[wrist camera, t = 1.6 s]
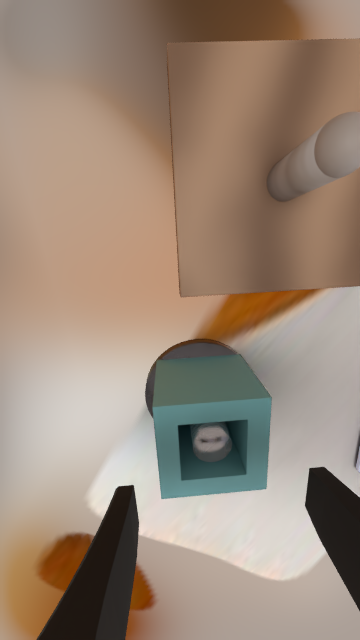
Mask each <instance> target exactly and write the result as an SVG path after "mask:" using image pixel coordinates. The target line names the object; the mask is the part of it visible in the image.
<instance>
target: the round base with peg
mask: <svg viewBox="0 0 360 640" xmlns="http://www.w3.org/2000/svg"><path fill="white" fill-rule="evenodd" d="M224 355H238V354H237V353H236V352H235V351H234V350H233V349H231V348H230V347H228V346H227V345H225V344H223V343H220V342H217V341H213V340H207V339H194V340H188V341H184V342H181V343H179V344H176V345H174V346H172V347H170V348H169V349H168V350H166V351H165V352H164V353H163V354H161V355H160V356H159V357H158V359H157V360H169V359H183V358H196V357H210V356H224ZM157 360H156V361H155V363H154V364H153V366H152V367H151V369H150V372H149V374H148V378H147V383H146V391H145V397H146V404H147V407H148V410H149V412H150V414H151V416H152V417H153V408H152V407H153V396H154V385H155V374H156V363H157ZM153 419H154V418H153ZM190 430H191V438H192V445H193V451H194V454H195V455H196V456H197V457H198V458H199V459H200V460H202V461H205V462H216V461H219V460H222V459H223V458H225V457H226V456H227V455H228V454H229V452H230V451H231V447H232V442H231V439H230V436H229V433H228V430H227V427H226V424H225V421H222V422H210V423H199V424H190Z"/></svg>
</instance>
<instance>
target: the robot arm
mask: <svg viewBox="0 0 360 640" xmlns="http://www.w3.org/2000/svg"><path fill="white" fill-rule="evenodd" d="M356 469H357V471H358V472H359V473H360V448H359V453H358V459H357V464H356ZM305 507H306V509H307V511H308V514H309V516H310V518H311V521H312V523H313V525H314V527H315V530H316V532H317V534H318V536H319V538H320V540H321V542H322V544H323V546H324V547H325V549H326V551H327V553H328V555H329V557H330V558H331V560H332V562H333V564H334V566H335V567H336V569H337V571H338V573H339V574H340V576H341V578H342V580H343V582H344V584H345V585H346V587H347V589H348V591H349V593H350V594H351V596H352V598H353V600H354V602H355V603H356V605H357V607H358V609H359V611H360V498H359V497H358V496H357V495H356V494H355V493H354V492H352V491H351V490H350V489H349V488H348V487H347V486H346V485H344V484H343V483H342V482H341V481H340V480H339V479H337V478H336V477H335V476H334V475H333V474H332V473H331V472H329V471H328V470H327V469H326V468H325V467H318V468H310V469H309V477H308V485H307V494H306V502H305ZM138 530H139V519H138V512H137V505H136V498H135V491H134V485H129V486H119V487H118V488H116V490H115V493H114V495H113V498H112V500H111V502H110V505H109V507H108V509H107V512H106V514H105V516H104V518H103V520H102V522H101V525H100V527H99V529H98V531H97V533H96V535H95V537H94V539H93V541H92V543H91V545H90V547H89V549H88V551H87V553H86V555H85V557H84V559H83V560H82V562H81V564H80V566H79V568H78V570H77V571H76V573H75V575H74V577H73V579H72V580H71V582H70V584H69V586H68V588H67V590H66V591H65V593H64V595H63V597H62V598H61V600H60V602H59V604H58V605H57V607H56V609H55V610H54V612H53V614H52V615H51V617H50V619H49V620H48V622H47V624H46V625H45V627H44V628H43V630H42V632H41V633H40V635H39V636H38V638H37V640H125V636H126V630H127V623H128V616H129V609H130V602H131V595H132V588H133V581H134V574H135V566H136V559H137V546H138Z"/></svg>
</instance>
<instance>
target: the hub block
mask: <svg viewBox="0 0 360 640" xmlns="http://www.w3.org/2000/svg"><path fill="white" fill-rule="evenodd" d="M167 71H168V89H169V106H170V126H171V143H172V161H173V180H174V199H175V217H176V234H177V253H178V272H179V288H180V289H179V290H180V296H181V297H193V296H207V295H208V296H209V295H225V294H241V293H257V292H273V291H288V290H304V289H320V288H336V287H352V286H360V39H320V40H279V41H278V40H274V41H229V42H184V43H167Z"/></svg>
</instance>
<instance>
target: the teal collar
mask: <svg viewBox="0 0 360 640" xmlns="http://www.w3.org/2000/svg"><path fill="white" fill-rule="evenodd" d="M271 401H272V397H271V396H270V395H269V393H268V392H267V391H266V389H265V388H264V386H263V385H262V384H261V382H260V381H259V380H258V378H257V377H256V375H255V374H254V373H253V371H252V370H251V369H250V367H249V366H248V365H247V363H246V362H245V360H244V359H243V358H242V356H241V355H240V354H238V355H224V356H210V357H196V358H183V359H169V360H157V363H156V374H155V385H154V396H153V407H152V408H153V418H154V428H155V438H156V448H157V458H158V468H159V478H160V489H161V499H167V498H178V497H188V496H199V495H209V494H220V493H230V492H241V491H251V490H262V489H266V486H267V469H268V452H269V435H270V418H271ZM222 421H225V424H226V427H227V430H228V433H229V436H230V439H231V442H232V447H231V451H230V452H229V454H228V455H227V456H226V457H225V458H223V459H222V460H219V461H216V462H205V461H202V460H200V459H199V458H198V457H197V456H196V455H195V454H194V451H193V445H192V438H191V430H190V424H199V423H210V422H222Z"/></svg>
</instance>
